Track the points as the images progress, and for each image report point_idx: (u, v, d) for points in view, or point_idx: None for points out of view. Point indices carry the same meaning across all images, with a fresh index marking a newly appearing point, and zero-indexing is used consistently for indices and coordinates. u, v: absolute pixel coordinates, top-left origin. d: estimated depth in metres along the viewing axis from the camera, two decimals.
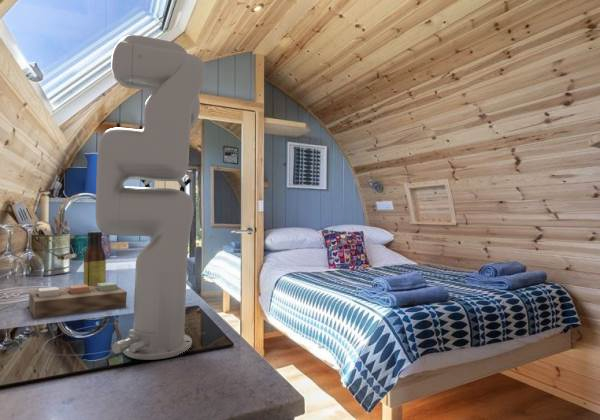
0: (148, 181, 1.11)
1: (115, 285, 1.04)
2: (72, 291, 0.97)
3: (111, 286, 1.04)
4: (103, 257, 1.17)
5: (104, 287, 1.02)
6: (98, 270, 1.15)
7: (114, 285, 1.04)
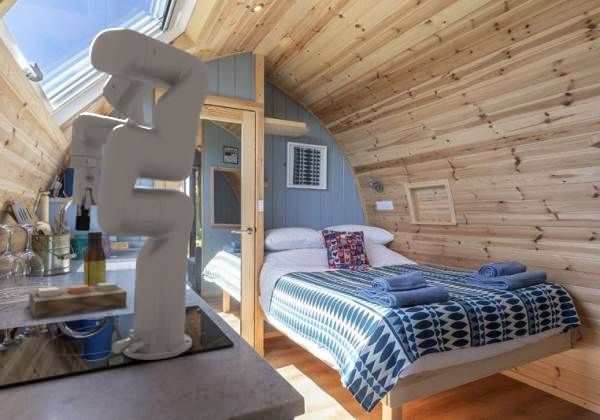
0: None
1: (115, 285, 1.04)
2: (72, 291, 0.97)
3: (111, 286, 1.04)
4: (103, 257, 1.17)
5: (104, 287, 1.02)
6: (98, 270, 1.15)
7: (114, 285, 1.04)
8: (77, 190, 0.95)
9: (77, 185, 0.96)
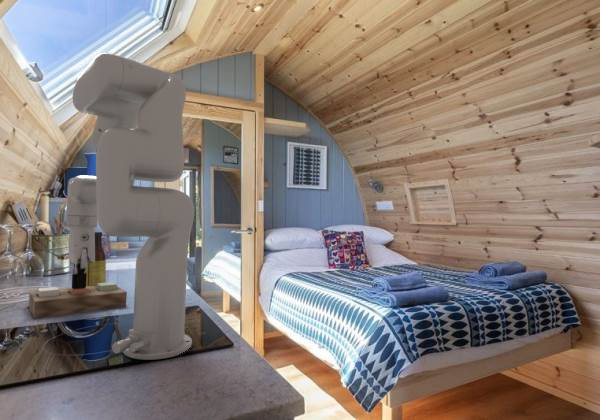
0: None
1: (115, 285, 1.04)
2: (72, 293, 0.97)
3: (111, 286, 1.04)
4: (103, 257, 1.17)
5: (104, 287, 1.02)
6: (98, 270, 1.15)
7: (114, 285, 1.04)
8: (73, 250, 0.97)
9: (73, 245, 0.97)
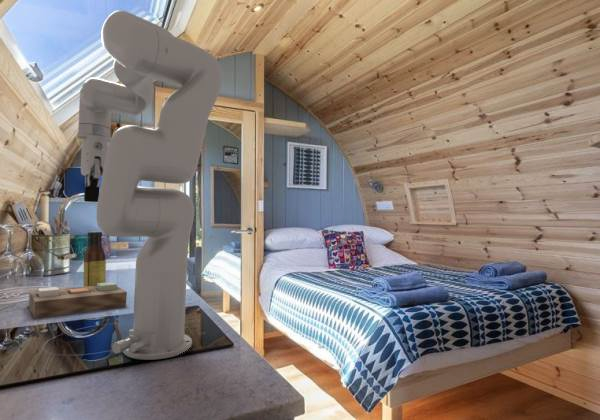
0: None
1: (115, 285, 1.04)
2: None
3: (111, 286, 1.04)
4: (103, 257, 1.17)
5: (104, 287, 1.02)
6: (98, 270, 1.15)
7: (114, 285, 1.04)
8: (86, 159, 0.93)
9: (86, 154, 0.93)
